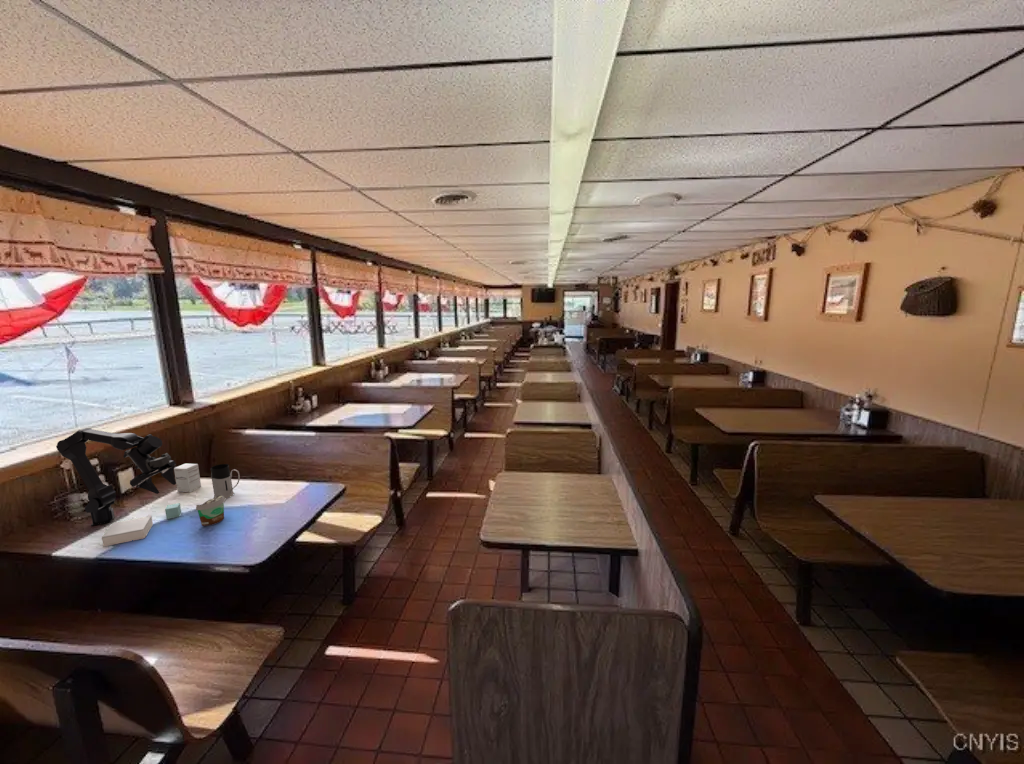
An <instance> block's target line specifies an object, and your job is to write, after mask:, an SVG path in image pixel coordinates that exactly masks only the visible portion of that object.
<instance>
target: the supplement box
mask: <svg viewBox="0 0 1024 764" xmlns="http://www.w3.org/2000/svg"><path fill="white" fill-rule="evenodd" d="M173 473H174V478H175V481H176V484H175V485H176V490H177V492H179V493H180V492H181V493H182V492H183V493H185V492H186V493H191V492H194V491H196V490H198V489H200V488H202V483H201V476H200V469H199V464H198V463H183V464H181V465H178V466H175V468H174V470H173Z"/></svg>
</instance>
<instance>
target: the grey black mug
mask: <svg viewBox="0 0 1024 764" xmlns="http://www.w3.org/2000/svg"><path fill="white" fill-rule="evenodd" d="M234 471H235V472H236V473H237V481H236V484H235V485H234V486H233V481H232V477H233V472H234ZM210 473H211V474H210V477H211V478H210V479H211V482H212V483H211V484H212V489H213V498H215V497H217V496H218V494H222V495H223V496H224V498H226V499H228V497H229V498H231V497H230V496H232V495H233V494H234V495H235V492H234V489H235V488H236V487H237V486H238V485H239V483H240V480H241V479H240V478H241V476H240V475H241V474H240V471H239V470H237V469H235V468H234V469H232V470H231V471H230V465H229V464H228V463H222V464H221V463H220V464H216V465H213V466H211V467H210ZM234 495H233V496H234ZM233 496H232V497H233Z"/></svg>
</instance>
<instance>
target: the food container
mask: <svg viewBox="0 0 1024 764" xmlns="http://www.w3.org/2000/svg"><path fill="white" fill-rule="evenodd" d="M225 501H226V499H225V498H224V496H223V495H222V494H218V496H217V497H215V498H214V497H213V498H210V499H208V500H206V501H205V502H204V503H202V504H196V506H195V510H196V511H197V513H198V516H199V521H200V524H201V525H200V526H202V527H207V526H208V527H209V526H214V525H216V524H217V525H218V523H219V524H220V522H222V521H223V520H225V509H224V507H225V505H224V502H225Z"/></svg>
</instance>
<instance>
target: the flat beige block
mask: <svg viewBox="0 0 1024 764" xmlns="http://www.w3.org/2000/svg"><path fill="white" fill-rule="evenodd" d="M153 525H154V523H153V516H152V515H147V516H142V517H138V518H137V517H136V518H132V519H126V520H122V521H121V520H120V521H116V522H112V523H111V524H110V525H109V527H108V528H107V530H106V531H105V532H104V534H102V536H101V540H102V545H103V547H108V546H113V545H117V544H122V543H127V542H132V540H133V541H138V540H142V539H145V538H147V536H148V534H149V532H150V530H151V528H152V527H153Z"/></svg>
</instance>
